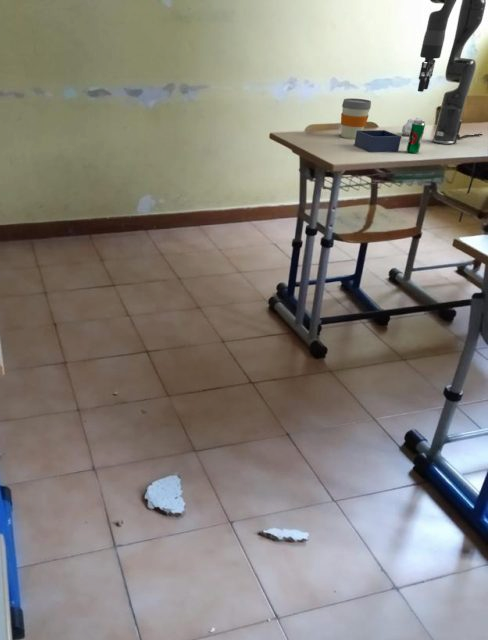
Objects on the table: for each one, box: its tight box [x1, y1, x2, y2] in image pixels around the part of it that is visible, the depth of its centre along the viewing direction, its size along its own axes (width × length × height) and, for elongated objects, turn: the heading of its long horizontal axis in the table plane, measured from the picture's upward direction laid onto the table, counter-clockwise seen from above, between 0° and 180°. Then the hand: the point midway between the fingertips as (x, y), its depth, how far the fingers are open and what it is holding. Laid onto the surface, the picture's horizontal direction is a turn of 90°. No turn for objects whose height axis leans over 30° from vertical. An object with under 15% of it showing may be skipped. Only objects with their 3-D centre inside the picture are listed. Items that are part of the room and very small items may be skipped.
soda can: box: [406, 120, 426, 154], centre depth 250 cm, size 5×5×12 cm
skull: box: [401, 117, 423, 137], centre depth 284 cm, size 8×9×12 cm
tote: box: [353, 129, 402, 153], centre depth 256 cm, size 13×13×6 cm
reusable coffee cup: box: [340, 98, 372, 140], centre depth 273 cm, size 13×13×15 cm
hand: (422, 90), depth 242 cm, fingers open, 8 cm apart
